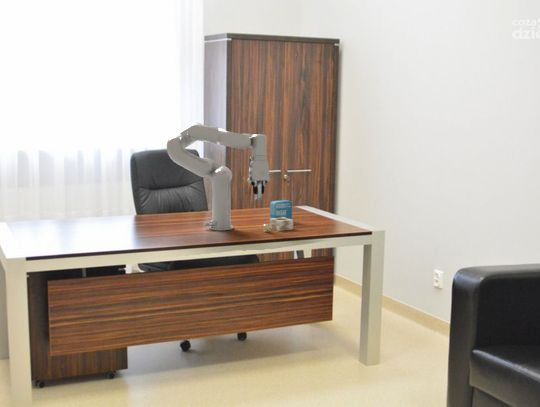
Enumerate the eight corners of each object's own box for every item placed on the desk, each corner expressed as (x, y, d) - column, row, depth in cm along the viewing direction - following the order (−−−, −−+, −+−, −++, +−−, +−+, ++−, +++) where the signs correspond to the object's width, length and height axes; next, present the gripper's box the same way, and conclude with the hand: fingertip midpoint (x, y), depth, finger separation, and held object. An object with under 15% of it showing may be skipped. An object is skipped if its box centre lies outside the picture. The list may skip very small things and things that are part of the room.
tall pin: (257, 200, 371) (257, 181, 370) (254, 199, 374) (254, 180, 372) (262, 199, 373) (263, 180, 371) (259, 199, 376) (259, 180, 374)
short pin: (265, 232, 367) (265, 225, 366) (262, 231, 370) (262, 224, 369) (270, 232, 369) (270, 224, 368) (267, 231, 371) (267, 223, 371)
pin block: (278, 230, 372) (278, 221, 372) (269, 228, 380) (269, 218, 379) (293, 229, 377) (293, 219, 376) (283, 226, 385) (283, 217, 384)
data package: (274, 224, 391) (274, 202, 389) (269, 223, 394) (270, 201, 393) (292, 222, 398) (292, 200, 396) (287, 220, 401) (287, 199, 400)
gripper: (248, 159, 363) (248, 195, 366) (276, 158, 371) (275, 193, 374) (241, 158, 369) (241, 193, 372) (268, 157, 378) (268, 191, 380)
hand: (258, 193), depth 373 cm, fingers closed on tall pin, 3 cm apart
